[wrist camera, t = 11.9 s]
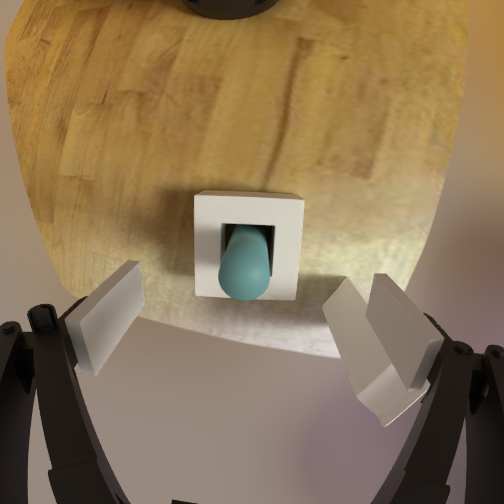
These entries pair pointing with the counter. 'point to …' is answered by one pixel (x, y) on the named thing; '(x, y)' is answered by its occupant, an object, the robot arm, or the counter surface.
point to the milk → (366, 354)
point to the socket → (248, 212)
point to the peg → (245, 263)
